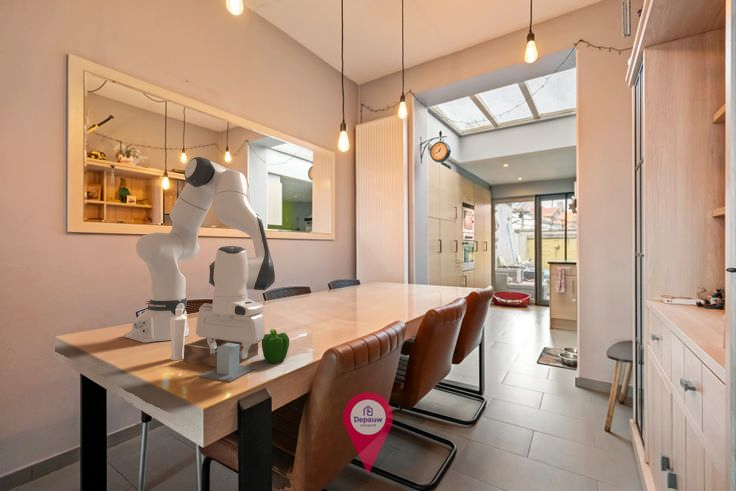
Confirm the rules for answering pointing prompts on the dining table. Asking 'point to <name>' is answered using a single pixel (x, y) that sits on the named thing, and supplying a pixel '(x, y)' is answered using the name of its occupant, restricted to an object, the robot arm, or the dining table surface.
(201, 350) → the walnut crate
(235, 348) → the block
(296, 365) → the dining table surface
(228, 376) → the pad
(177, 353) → the perfume bottle
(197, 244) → the robot arm
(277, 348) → the bell pepper
